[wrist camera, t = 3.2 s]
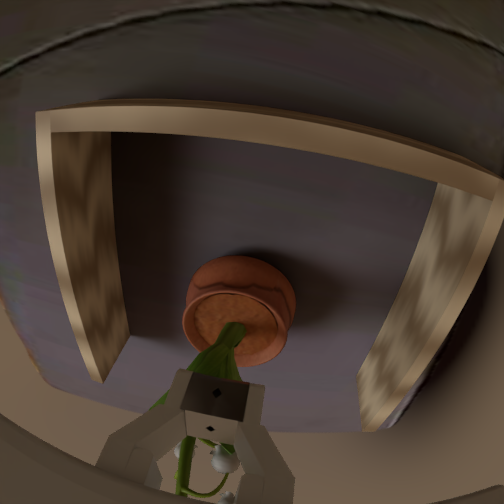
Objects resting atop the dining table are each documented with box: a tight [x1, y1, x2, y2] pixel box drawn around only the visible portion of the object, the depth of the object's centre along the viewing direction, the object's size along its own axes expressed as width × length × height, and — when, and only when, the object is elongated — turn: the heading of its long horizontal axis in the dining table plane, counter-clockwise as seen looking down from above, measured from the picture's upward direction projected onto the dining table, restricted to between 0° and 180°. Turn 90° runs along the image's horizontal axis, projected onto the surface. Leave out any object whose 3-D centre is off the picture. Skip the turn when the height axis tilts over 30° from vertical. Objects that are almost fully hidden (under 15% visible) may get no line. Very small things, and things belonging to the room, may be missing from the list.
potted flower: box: [149, 255, 296, 504], centre depth 19 cm, size 12×10×25 cm
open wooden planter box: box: [36, 99, 504, 432], centre depth 24 cm, size 27×31×8 cm
